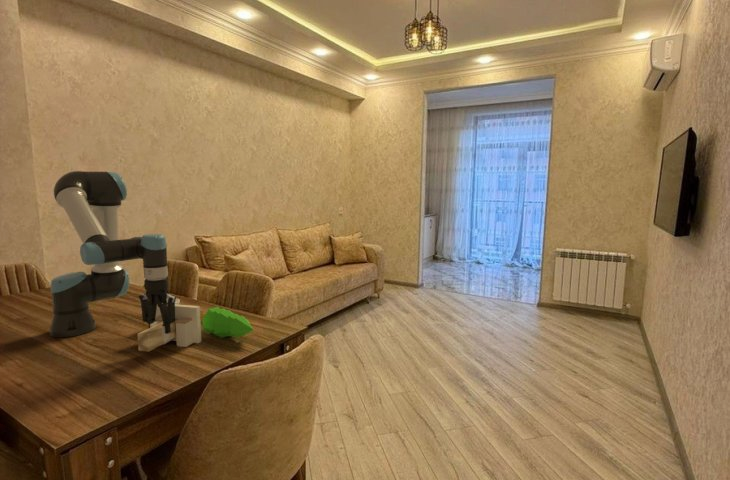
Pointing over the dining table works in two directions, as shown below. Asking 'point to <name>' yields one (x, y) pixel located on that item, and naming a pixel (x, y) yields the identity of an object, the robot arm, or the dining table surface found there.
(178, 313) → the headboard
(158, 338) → the rail
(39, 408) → the dining table surface
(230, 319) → the decorative tree
